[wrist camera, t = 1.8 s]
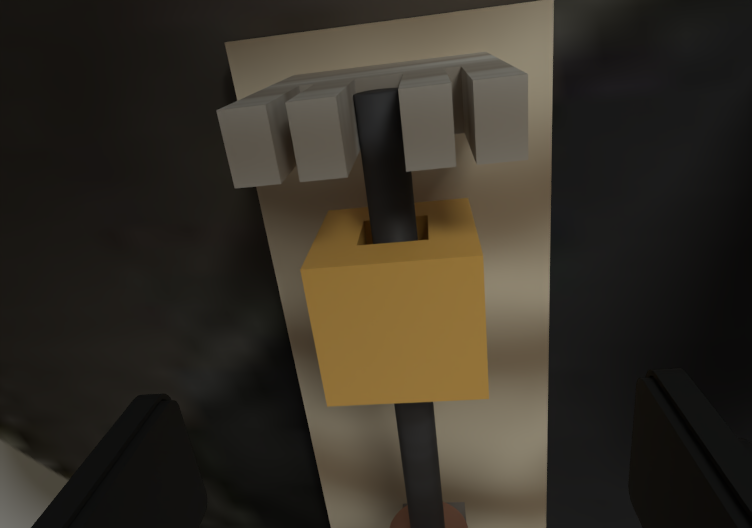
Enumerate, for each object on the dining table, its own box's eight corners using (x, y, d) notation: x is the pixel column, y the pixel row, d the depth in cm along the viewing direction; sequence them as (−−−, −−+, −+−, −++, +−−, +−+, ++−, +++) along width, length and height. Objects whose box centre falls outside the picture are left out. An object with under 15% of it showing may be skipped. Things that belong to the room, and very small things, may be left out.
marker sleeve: (328, 210, 16) (300, 269, 12) (468, 198, 16) (483, 255, 12) (347, 323, 18) (326, 406, 14) (474, 315, 17) (489, 399, 14)
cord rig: (239, 40, 18) (101, 57, 10) (543, 0, 17) (647, -14, 9) (339, 523, 27) (308, 723, 20) (539, 519, 26) (589, 730, 19)
